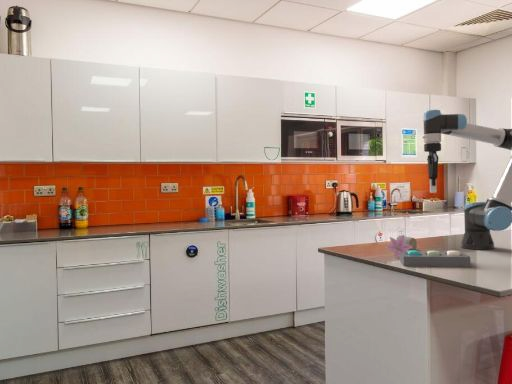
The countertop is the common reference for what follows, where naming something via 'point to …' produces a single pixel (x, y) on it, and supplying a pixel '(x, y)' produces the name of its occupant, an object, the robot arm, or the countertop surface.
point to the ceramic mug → (410, 242)
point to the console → (435, 260)
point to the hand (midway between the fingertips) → (433, 192)
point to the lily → (398, 246)
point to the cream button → (453, 253)
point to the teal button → (413, 252)
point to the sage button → (433, 252)
